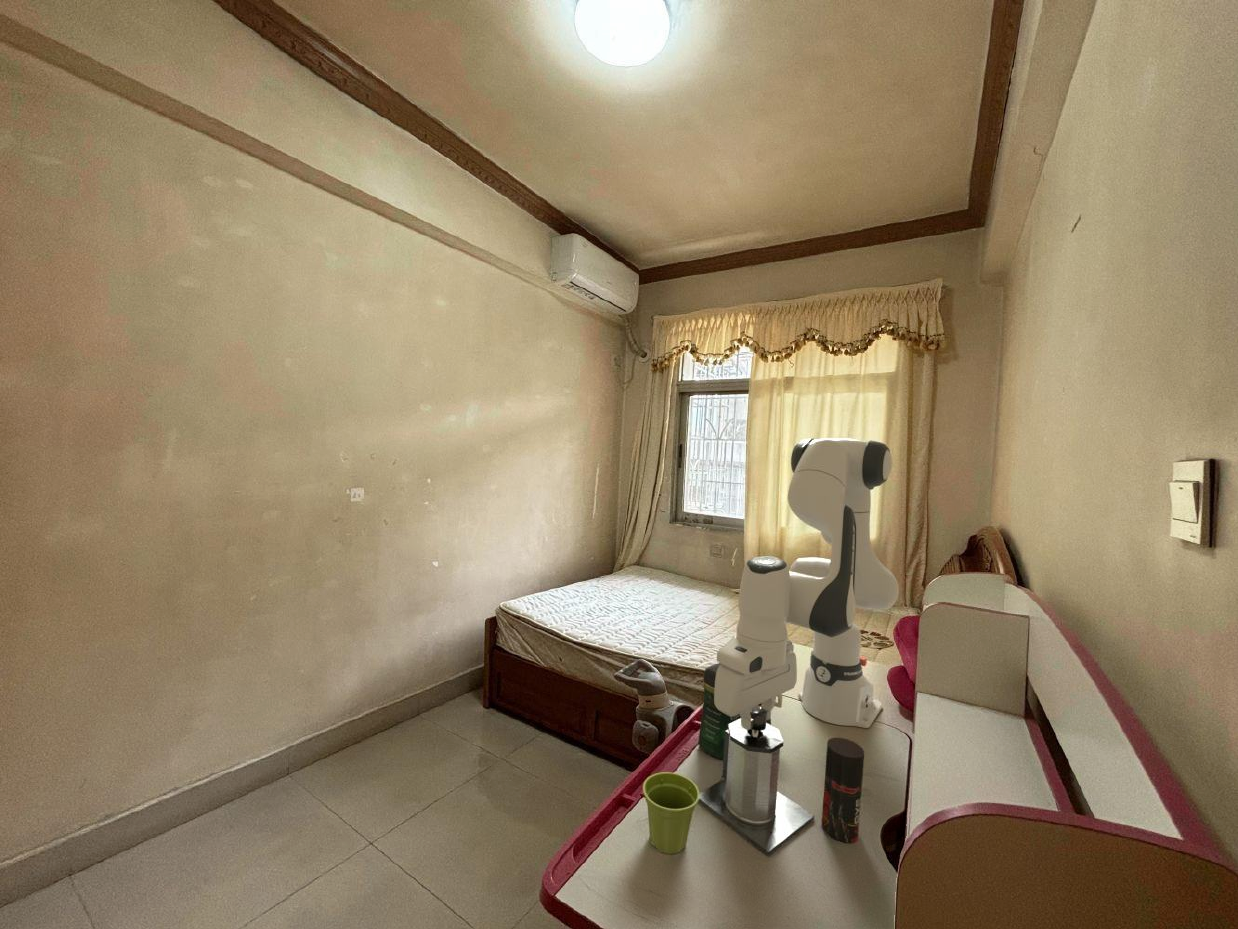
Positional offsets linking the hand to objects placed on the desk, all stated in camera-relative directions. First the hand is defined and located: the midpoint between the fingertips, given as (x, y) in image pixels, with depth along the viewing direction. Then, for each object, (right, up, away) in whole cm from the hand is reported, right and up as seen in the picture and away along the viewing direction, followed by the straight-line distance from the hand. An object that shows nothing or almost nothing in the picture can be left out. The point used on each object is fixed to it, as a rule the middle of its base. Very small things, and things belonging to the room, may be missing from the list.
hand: (755, 723), depth 91 cm
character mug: (+8, -16, +27) cm, 32 cm away
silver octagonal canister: (-1, -17, +1) cm, 16 cm away
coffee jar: (-2, -16, +20) cm, 26 cm away
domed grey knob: (-1, -12, 0) cm, 12 cm away
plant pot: (-17, -16, -7) cm, 24 cm away
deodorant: (+14, -18, -3) cm, 23 cm away
